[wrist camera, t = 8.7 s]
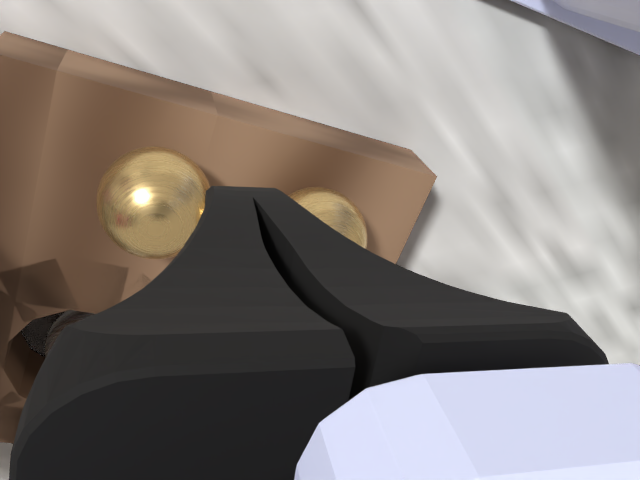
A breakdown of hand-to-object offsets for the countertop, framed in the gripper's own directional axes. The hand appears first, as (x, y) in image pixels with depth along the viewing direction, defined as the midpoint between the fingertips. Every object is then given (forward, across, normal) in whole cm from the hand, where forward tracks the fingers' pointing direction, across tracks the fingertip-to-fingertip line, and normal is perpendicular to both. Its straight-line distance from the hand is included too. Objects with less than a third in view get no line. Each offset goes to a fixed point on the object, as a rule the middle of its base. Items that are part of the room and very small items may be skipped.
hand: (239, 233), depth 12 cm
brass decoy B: (+6, +2, +2) cm, 6 cm away
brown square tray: (+10, 0, +7) cm, 12 cm away
